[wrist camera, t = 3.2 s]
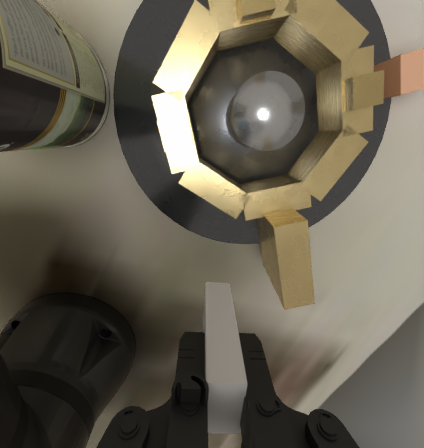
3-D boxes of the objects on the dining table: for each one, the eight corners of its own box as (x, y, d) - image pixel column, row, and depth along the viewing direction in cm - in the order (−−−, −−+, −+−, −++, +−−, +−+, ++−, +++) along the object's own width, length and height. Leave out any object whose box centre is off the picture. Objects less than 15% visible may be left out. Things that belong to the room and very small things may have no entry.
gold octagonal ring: (143, 34, 19) (112, -20, 12) (339, -13, 19) (416, -95, 12) (204, 277, 26) (205, 325, 20) (346, 249, 26) (395, 287, 19)
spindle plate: (118, 222, 26) (90, 251, 20) (124, -78, 19) (82, -195, 12) (331, 248, 28) (371, 281, 22) (418, -13, 21) (521, -83, 14)
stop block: (344, 106, 23) (400, 94, 17) (342, 78, 23) (400, 54, 16) (408, 88, 23) (490, 69, 17) (408, 59, 22) (495, 27, 16)
